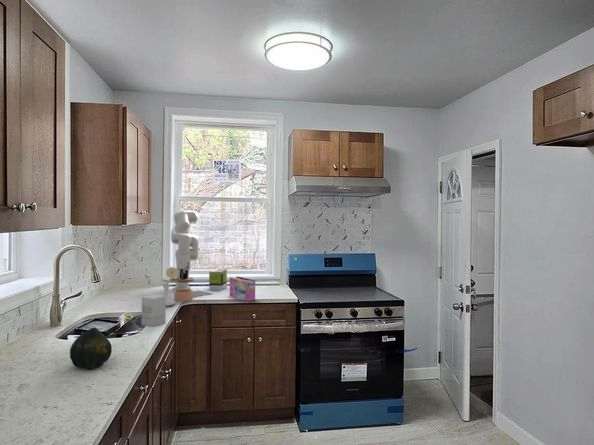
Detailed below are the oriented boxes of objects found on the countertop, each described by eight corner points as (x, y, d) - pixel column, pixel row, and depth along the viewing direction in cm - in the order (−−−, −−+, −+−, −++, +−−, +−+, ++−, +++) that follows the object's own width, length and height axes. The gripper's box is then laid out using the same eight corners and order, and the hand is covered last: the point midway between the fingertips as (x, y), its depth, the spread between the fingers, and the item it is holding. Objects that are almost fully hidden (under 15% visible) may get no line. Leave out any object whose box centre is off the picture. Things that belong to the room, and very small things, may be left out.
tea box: (215, 286, 334) (215, 268, 334) (227, 287, 333) (227, 268, 333) (208, 289, 320) (209, 271, 319) (221, 290, 318) (221, 271, 318)
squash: (70, 363, 148) (98, 326, 155) (56, 354, 158) (83, 320, 165) (100, 380, 156) (126, 345, 163) (85, 371, 166) (109, 338, 173)
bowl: (170, 299, 283) (170, 290, 282) (185, 296, 292) (186, 288, 292) (180, 302, 275) (181, 293, 274) (196, 299, 284) (196, 290, 284)
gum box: (228, 295, 299) (228, 277, 299) (237, 294, 304) (237, 276, 304) (246, 301, 281) (246, 281, 281) (255, 299, 286) (255, 280, 286)
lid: (169, 280, 283) (169, 271, 282) (186, 278, 293) (186, 269, 293) (180, 283, 274) (180, 274, 274) (197, 280, 284) (197, 271, 284)
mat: (179, 294, 301) (179, 293, 301) (198, 291, 314) (198, 290, 314) (193, 297, 290) (193, 296, 290) (212, 294, 303) (212, 293, 303)
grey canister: (154, 320, 227) (154, 293, 227) (165, 323, 222) (166, 295, 222) (140, 324, 219) (141, 296, 219) (152, 327, 215) (152, 298, 214)
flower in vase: (156, 308, 257) (156, 268, 256) (157, 304, 268) (157, 266, 267) (177, 307, 260) (178, 267, 260) (178, 303, 271) (178, 265, 271)
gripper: (172, 251, 285) (172, 277, 286) (186, 253, 274) (186, 280, 275) (181, 250, 291) (181, 276, 292) (195, 252, 280) (195, 279, 281)
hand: (183, 278), depth 283 cm, fingers closed on lid, 3 cm apart
